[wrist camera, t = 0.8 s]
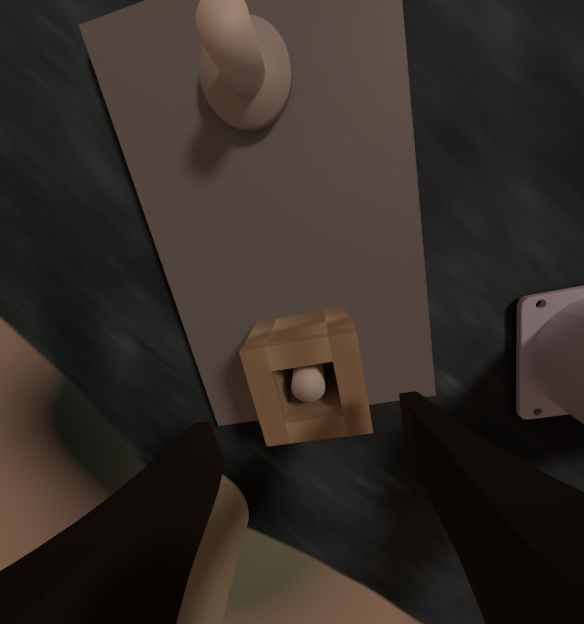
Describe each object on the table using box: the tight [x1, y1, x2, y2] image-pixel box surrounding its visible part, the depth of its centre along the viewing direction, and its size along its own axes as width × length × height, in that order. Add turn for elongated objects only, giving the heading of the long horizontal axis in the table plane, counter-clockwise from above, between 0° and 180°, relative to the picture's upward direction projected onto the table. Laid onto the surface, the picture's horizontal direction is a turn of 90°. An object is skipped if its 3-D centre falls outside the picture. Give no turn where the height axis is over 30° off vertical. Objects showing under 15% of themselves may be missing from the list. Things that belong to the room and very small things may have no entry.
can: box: [176, 474, 249, 624], centre depth 16 cm, size 9×9×12 cm
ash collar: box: [239, 306, 373, 446], centre depth 14 cm, size 5×5×4 cm
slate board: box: [79, 0, 436, 426], centre depth 13 cm, size 14×22×5 cm, turn 12°
